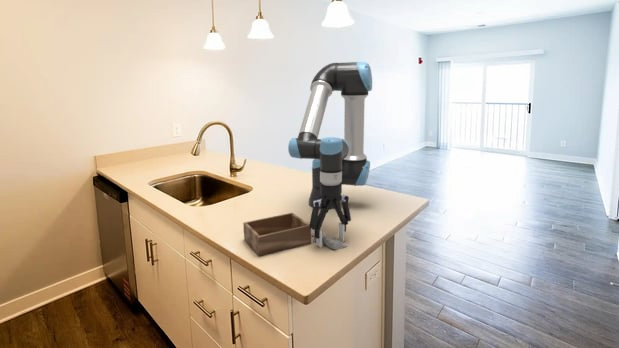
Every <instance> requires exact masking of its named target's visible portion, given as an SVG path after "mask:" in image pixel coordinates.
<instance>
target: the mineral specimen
mask: <svg viewBox="0 0 619 348" xmlns="http://www.w3.org/2000/svg"><path fill="white" fill-rule="evenodd" d="M311 238H313V241H312V242H313V243H314V244H315V245H316V238H315V232H311ZM322 246H326V247H327V248H329V249H332V250H338V249H343V248H346V247H347V244H346V243H345V242H342V241H341V240H339V239H338V238H336V237H331V236H328V235H323V234H322Z"/></svg>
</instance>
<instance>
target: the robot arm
mask: <svg viewBox="0 0 619 348" xmlns="http://www.w3.org/2000/svg"><path fill="white" fill-rule="evenodd" d="M309 87H310V95H309V98H308V102H307V104H306V107H305V112H304V115H303V118H302V121H301V125H300V129H299V132H298V135H297V137H294V138H291V139H290V140H289V142H288V147H287V148H288V150H287V151H288V154H289V156H290V157H291V158H294V159H299V160H300V159H301V160H302V159H305V160H312V167H311V176H312V177H311V179H312V182H311V183H312V185H311V186H312V187H311V188H312V189H311V192H310V195H309V198H308V205H309V206H310V207H312V209H311V213H310V214H311V215H310V219H309V220H310V221H309V224H310V225H309V227H310V228H311V230H314V233H315V238H316V244H315V245H316V246H318V247H319V248H323V245H322V235H323V230H322V229H321V228H322V226H323V223H324V220H325V217H326V215H327V213H329V211H330V210H332V209H334V210H335V212H336V215H337V217H338V219H339V221H340V222H338V238H337V239H338V240H339V241H341V242H343V243H345V233H346V231H347V225H348V224H349V222H351V221H352V217H351V212H350V206H349V198H350V197H349V196H348V195H346V194H342V193H343V192H342V191H343V189H342V188H343V187H342V186H353V187H354V186H355V187H357V186H361V187H363V186H365V185H366V184H367V181H368V179H369V174H370V168H371V161H370V160H368V158H367V157H368V156H367V155H366V154H365V152H364V149H365V147H364V141H365V140H364V139H365V138H364V137H365V102H366V101H365V99H366V98H367V97H368V96H369V92H371V91H372V90H373V75H372V69H371V66H370V64H369V63H368V62H366V61H365V62H364V61H363V62H362V61H354V62H353V61H348V62H332V63H328V64H327V65H324V66H323V67H322V68H321V69H320V70H318V72H317V73H316V74H315V76H314V77H313V78H312V81H311V84H310V86H309ZM335 91H336V92H339V91H340V96H341V98H343V101H344V115H343V116H344V121H343V122H344V135H343V136H344V137H343V138H341V137H335V136H334V137H331V136H330V137H322V138H319V135H320V131H321V126H322V123H323V120H324V119H323V118H324V116H325V111H326V108H327V104H328V100H329V97H331V96H332V94H333V92H335Z"/></svg>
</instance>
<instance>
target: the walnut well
mask: <svg viewBox="0 0 619 348" xmlns="http://www.w3.org/2000/svg"><path fill="white" fill-rule="evenodd" d="M309 225H310V223H308V222H306V221H305V220H304V219H303V218H301V217H299V216H298V215H297V214H295V213H293V212H289V213H284V214H279V215H274V216H268V217H265V218H260V219H255V220H249V221H244V222H243V238H244V239H243V240H244V242H245V243H246V244H247V245H248V246H249V247H250V249H251V250H253V252H254V253H255V254H256V255H257V256H258V257H259V258H260V257H265V256H267V255H272V254H276V253H279V252H284V251H287V250H292V249H296V248H299V247H303V246H306V245H310V244H312V228H310V227H309Z"/></svg>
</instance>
